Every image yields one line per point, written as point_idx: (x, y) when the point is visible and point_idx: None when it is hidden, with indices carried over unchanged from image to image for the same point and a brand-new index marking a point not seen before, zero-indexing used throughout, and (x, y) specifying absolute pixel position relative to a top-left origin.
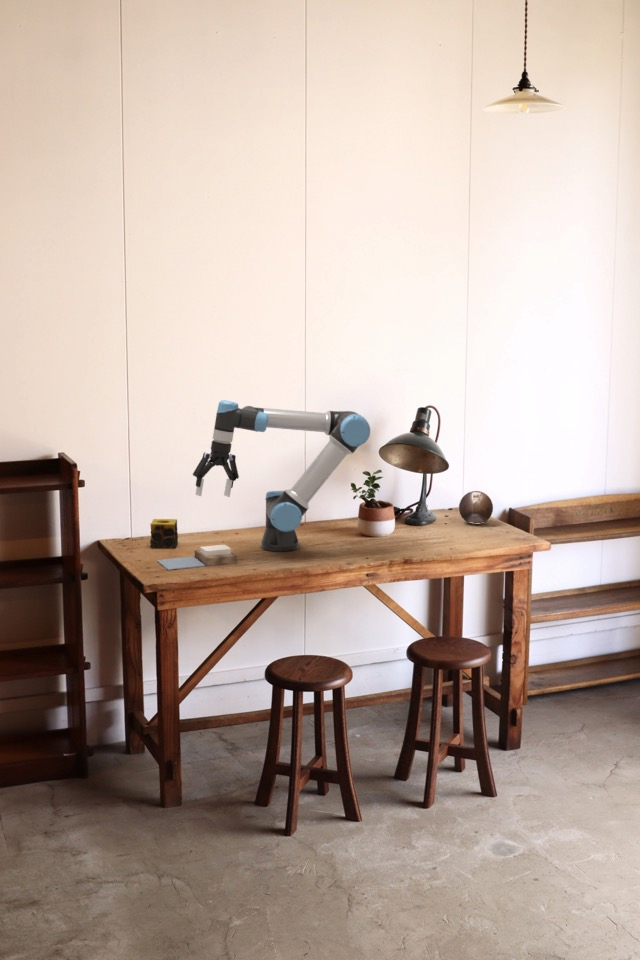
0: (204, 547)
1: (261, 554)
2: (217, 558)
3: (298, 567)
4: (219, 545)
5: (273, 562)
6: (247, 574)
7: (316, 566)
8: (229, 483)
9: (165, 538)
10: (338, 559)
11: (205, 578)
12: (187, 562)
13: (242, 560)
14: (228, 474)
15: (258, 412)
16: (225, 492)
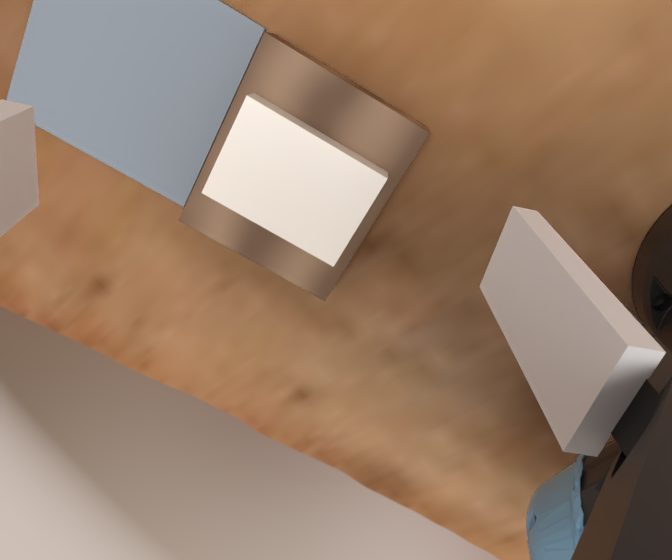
0: (254, 127)
1: None
2: (233, 247)
3: (435, 500)
4: (349, 168)
5: (444, 395)
6: (224, 411)
7: (488, 539)
8: (551, 384)
9: None
10: None
11: (63, 323)
12: (155, 96)
13: (390, 272)
14: (615, 487)
15: None
16: (517, 245)
